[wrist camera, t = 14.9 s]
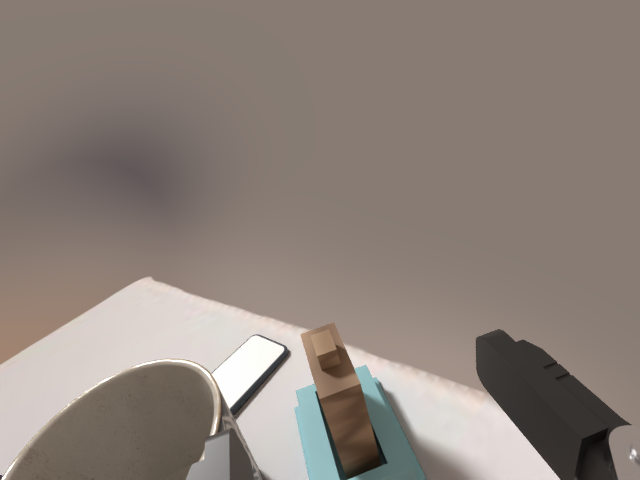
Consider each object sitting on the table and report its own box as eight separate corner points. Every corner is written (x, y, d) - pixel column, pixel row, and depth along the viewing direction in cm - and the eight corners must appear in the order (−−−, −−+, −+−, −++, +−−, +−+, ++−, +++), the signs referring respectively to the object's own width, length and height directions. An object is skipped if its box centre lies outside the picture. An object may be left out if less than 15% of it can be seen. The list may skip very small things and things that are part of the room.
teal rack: (319, 526, 36) (311, 508, 34) (295, 410, 48) (288, 393, 46) (426, 481, 37) (423, 462, 35) (376, 380, 49) (372, 362, 48)
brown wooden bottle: (348, 482, 38) (314, 384, 31) (327, 412, 46) (295, 321, 39) (382, 468, 39) (356, 368, 31) (355, 401, 47) (330, 309, 39)
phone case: (256, 338, 64) (183, 408, 53) (254, 331, 63) (178, 401, 53) (292, 354, 58) (218, 435, 48) (290, 347, 58) (214, 428, 47)
